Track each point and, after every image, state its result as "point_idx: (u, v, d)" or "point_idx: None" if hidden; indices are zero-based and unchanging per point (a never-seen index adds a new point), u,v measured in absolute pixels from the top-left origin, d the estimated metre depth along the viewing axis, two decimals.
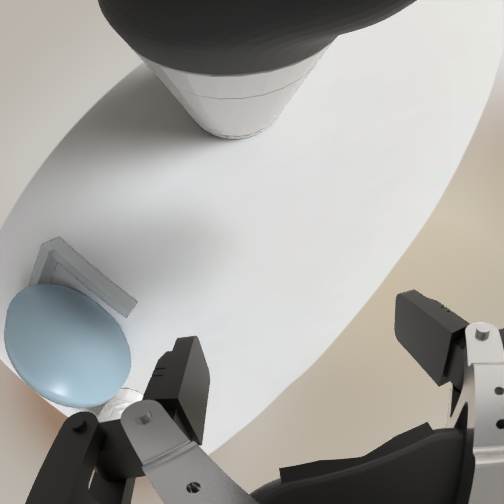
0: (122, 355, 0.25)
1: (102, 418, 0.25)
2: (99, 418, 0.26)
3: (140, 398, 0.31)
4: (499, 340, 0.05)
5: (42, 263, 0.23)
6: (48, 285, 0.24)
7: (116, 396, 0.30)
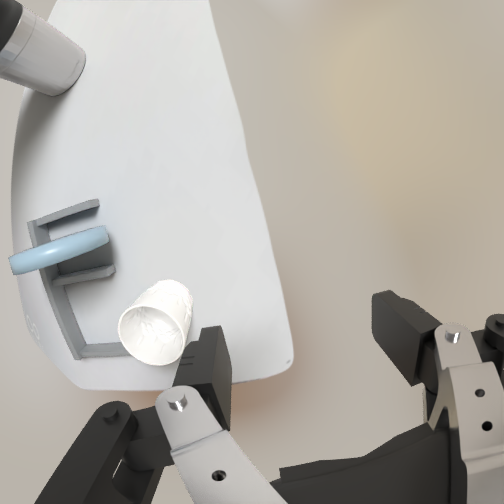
0: (97, 227, 0.30)
1: (129, 312, 0.30)
2: None
3: (162, 281, 0.36)
4: (469, 342, 0.05)
5: (33, 233, 0.31)
6: None
7: None
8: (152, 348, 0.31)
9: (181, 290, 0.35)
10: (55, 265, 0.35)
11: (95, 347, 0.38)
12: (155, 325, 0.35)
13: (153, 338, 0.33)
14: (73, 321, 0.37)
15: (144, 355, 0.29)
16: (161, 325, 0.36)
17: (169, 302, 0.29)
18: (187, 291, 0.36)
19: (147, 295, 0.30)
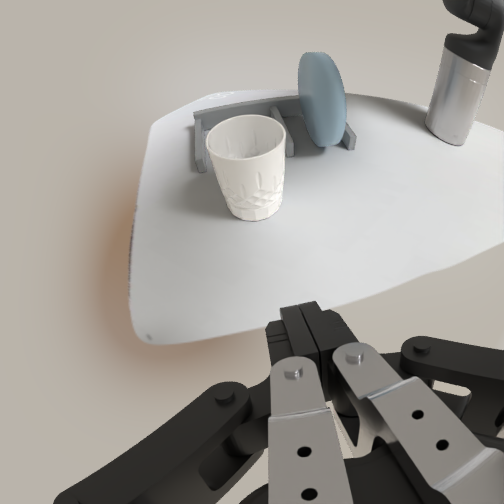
0: None
1: (261, 139, 0.30)
2: None
3: None
4: (369, 367, 0.06)
5: None
6: None
7: None
8: (218, 151, 0.28)
9: (274, 202, 0.31)
10: (287, 114, 0.43)
11: (202, 133, 0.41)
12: None
13: None
14: None
15: (216, 135, 0.27)
16: None
17: (280, 163, 0.26)
18: (270, 212, 0.32)
19: None
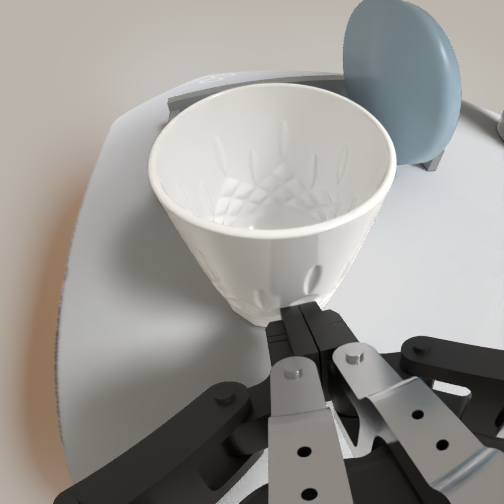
0: None
1: None
2: None
3: None
4: (369, 367, 0.06)
5: None
6: None
7: None
8: (194, 176, 0.11)
9: None
10: None
11: None
12: (231, 225, 0.15)
13: (211, 200, 0.13)
14: None
15: (187, 135, 0.10)
16: None
17: None
18: None
19: None
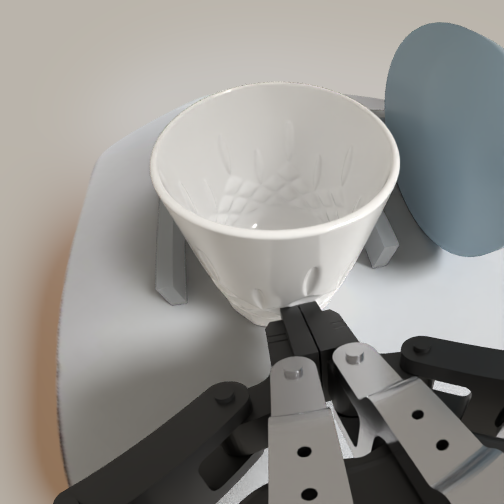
0: None
1: (305, 145, 0.12)
2: None
3: None
4: (369, 367, 0.06)
5: None
6: None
7: None
8: (197, 173, 0.11)
9: None
10: None
11: None
12: (234, 223, 0.15)
13: (215, 197, 0.13)
14: None
15: (191, 133, 0.10)
16: None
17: (372, 229, 0.09)
18: None
19: None
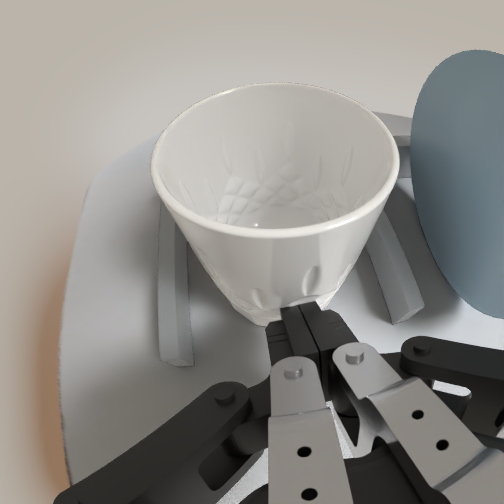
0: None
1: None
2: None
3: None
4: (369, 367, 0.06)
5: None
6: None
7: None
8: (198, 173, 0.11)
9: None
10: None
11: (181, 232, 0.17)
12: (235, 223, 0.15)
13: (215, 197, 0.13)
14: None
15: (192, 133, 0.10)
16: None
17: None
18: None
19: None
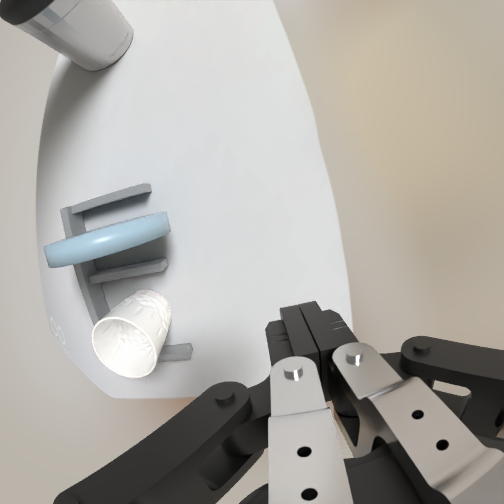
0: None
1: None
2: None
3: (140, 291, 0.34)
4: (369, 367, 0.06)
5: (68, 222, 0.29)
6: (81, 233, 0.29)
7: None
8: (127, 359, 0.29)
9: (159, 302, 0.33)
10: (91, 259, 0.33)
11: None
12: (132, 335, 0.33)
13: (129, 348, 0.31)
14: None
15: (118, 366, 0.27)
16: (139, 335, 0.34)
17: (142, 315, 0.27)
18: (165, 302, 0.34)
19: (122, 306, 0.28)
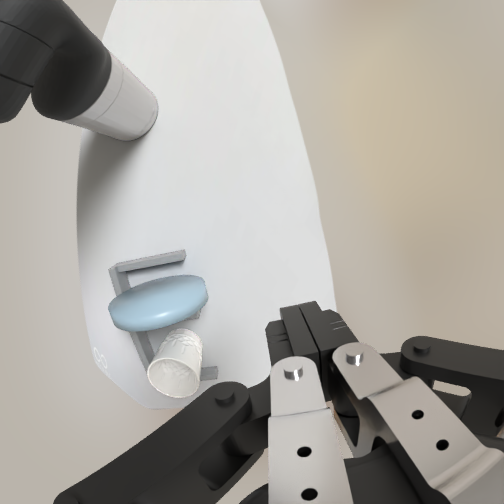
0: (195, 281, 0.38)
1: None
2: None
3: (178, 330, 0.44)
4: (369, 367, 0.06)
5: (116, 280, 0.39)
6: (129, 289, 0.39)
7: None
8: (171, 383, 0.39)
9: (194, 339, 0.43)
10: None
11: None
12: (172, 363, 0.43)
13: (171, 374, 0.41)
14: (152, 353, 0.45)
15: (166, 389, 0.38)
16: (177, 363, 0.44)
17: (187, 354, 0.38)
18: (198, 338, 0.45)
19: (169, 347, 0.38)
